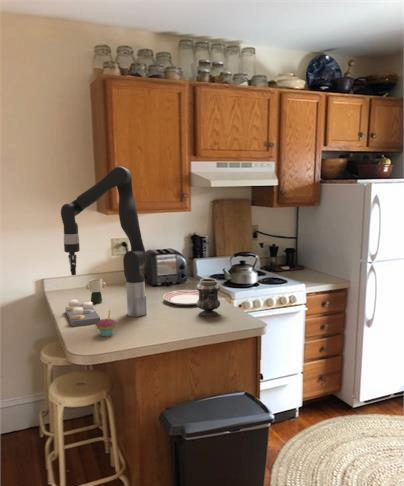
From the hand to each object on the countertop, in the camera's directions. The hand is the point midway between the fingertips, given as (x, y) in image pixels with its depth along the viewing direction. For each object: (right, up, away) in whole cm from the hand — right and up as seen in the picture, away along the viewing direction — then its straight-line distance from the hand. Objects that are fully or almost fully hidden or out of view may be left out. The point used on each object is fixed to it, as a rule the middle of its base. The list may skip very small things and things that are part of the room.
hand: (73, 273), depth 219 cm
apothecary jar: (+70, -21, -3) cm, 73 cm away
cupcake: (+24, -25, -31) cm, 47 cm away
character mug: (+7, -18, +22) cm, 29 cm away
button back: (0, -16, 0) cm, 16 cm away
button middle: (+9, -17, -5) cm, 20 cm away
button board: (+6, -22, -6) cm, 23 cm away
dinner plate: (+58, -18, +23) cm, 65 cm away
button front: (+7, -18, -15) cm, 24 cm away
